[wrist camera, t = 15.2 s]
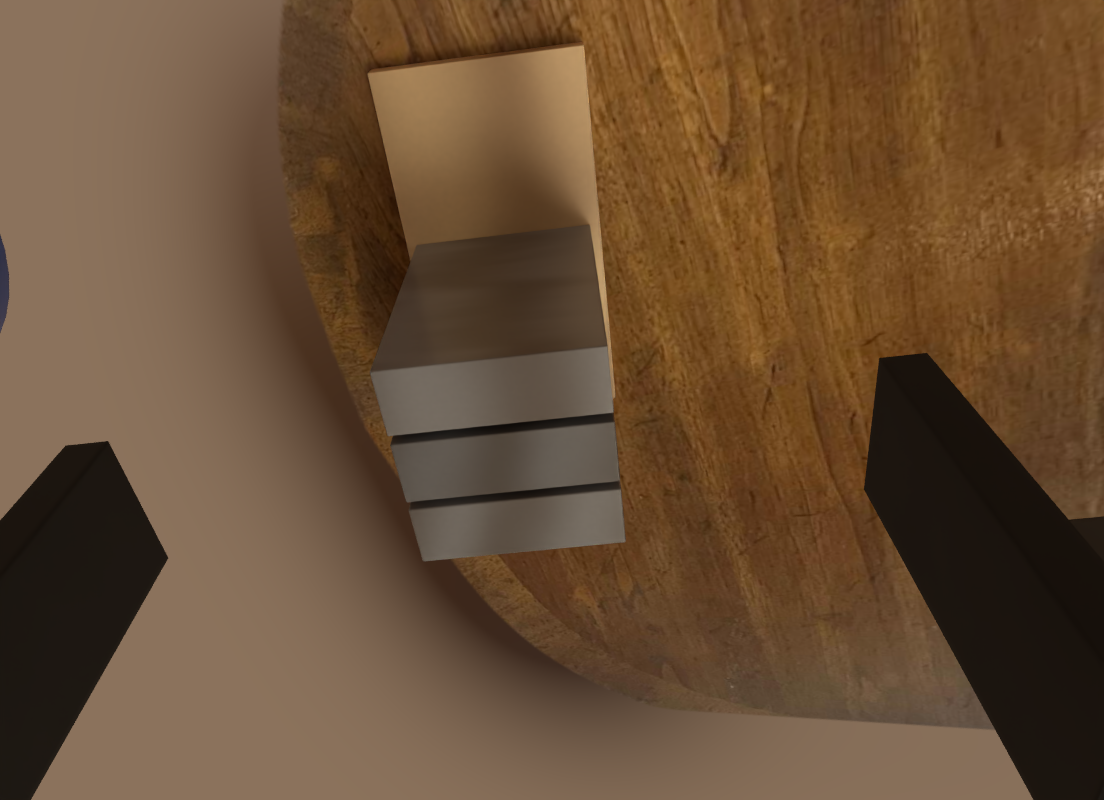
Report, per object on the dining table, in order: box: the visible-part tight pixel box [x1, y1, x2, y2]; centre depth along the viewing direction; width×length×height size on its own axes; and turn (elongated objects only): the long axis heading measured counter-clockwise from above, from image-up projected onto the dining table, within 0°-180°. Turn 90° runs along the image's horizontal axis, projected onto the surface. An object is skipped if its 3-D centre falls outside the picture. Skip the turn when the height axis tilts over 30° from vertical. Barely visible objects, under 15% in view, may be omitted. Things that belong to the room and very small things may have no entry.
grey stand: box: [368, 42, 626, 561], centre depth 36 cm, size 10×19×14 cm, turn 7°
